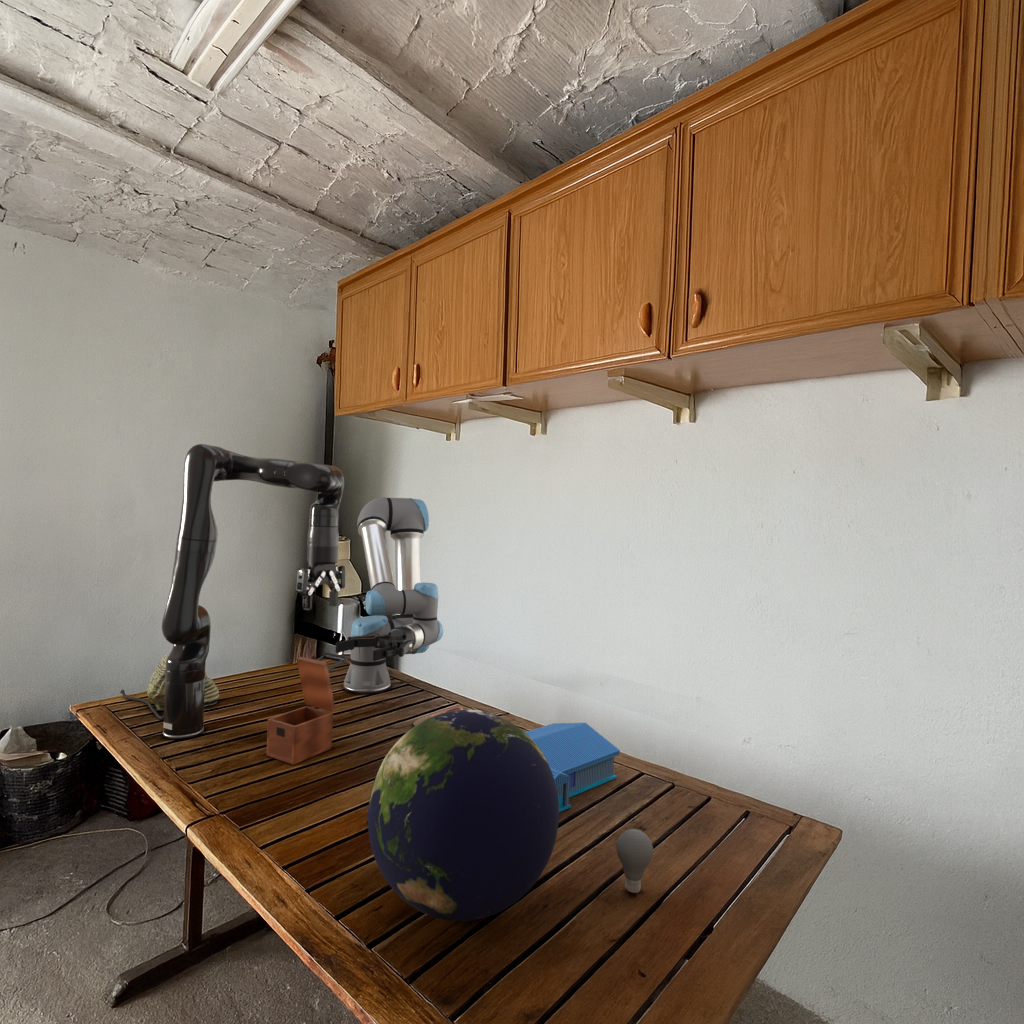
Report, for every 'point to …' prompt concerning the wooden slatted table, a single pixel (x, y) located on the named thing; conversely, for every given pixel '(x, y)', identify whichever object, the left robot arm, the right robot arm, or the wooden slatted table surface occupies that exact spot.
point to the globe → (463, 815)
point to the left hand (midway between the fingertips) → (320, 607)
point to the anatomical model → (436, 714)
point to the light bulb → (634, 857)
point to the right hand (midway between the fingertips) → (354, 651)
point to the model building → (575, 757)
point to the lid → (318, 680)
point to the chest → (299, 734)
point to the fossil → (158, 687)
